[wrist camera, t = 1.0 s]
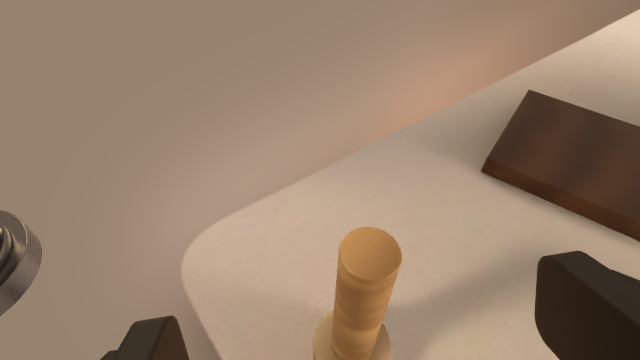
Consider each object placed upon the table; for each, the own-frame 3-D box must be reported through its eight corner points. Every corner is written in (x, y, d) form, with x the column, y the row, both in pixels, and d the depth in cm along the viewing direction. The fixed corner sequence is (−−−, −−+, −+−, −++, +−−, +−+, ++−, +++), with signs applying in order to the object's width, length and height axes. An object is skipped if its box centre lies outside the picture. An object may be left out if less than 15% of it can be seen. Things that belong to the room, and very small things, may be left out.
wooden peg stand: (298, 365, 25) (288, 262, 15) (339, 308, 28) (352, 190, 18) (361, 415, 23) (393, 333, 14) (398, 349, 26) (448, 241, 16)
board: (480, 171, 37) (486, 158, 36) (522, 102, 45) (529, 89, 44) (645, 243, 32) (659, 231, 30) (660, 150, 39) (672, 137, 38)
